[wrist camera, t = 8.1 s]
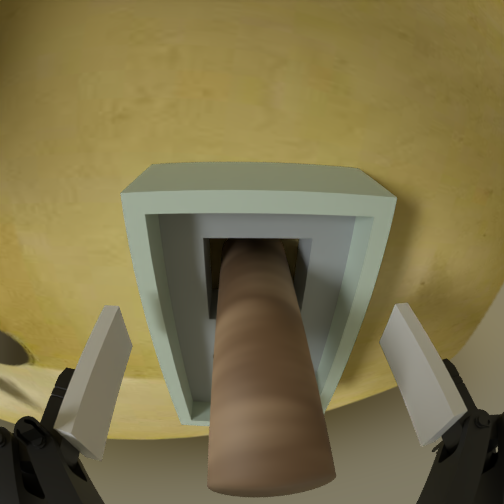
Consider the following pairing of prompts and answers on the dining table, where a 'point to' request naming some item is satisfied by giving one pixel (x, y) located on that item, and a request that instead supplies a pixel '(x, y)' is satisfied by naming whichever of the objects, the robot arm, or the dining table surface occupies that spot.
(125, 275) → the dining table surface
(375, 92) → the dining table surface
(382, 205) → the crate
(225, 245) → the walnut dowel
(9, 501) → the robot arm
